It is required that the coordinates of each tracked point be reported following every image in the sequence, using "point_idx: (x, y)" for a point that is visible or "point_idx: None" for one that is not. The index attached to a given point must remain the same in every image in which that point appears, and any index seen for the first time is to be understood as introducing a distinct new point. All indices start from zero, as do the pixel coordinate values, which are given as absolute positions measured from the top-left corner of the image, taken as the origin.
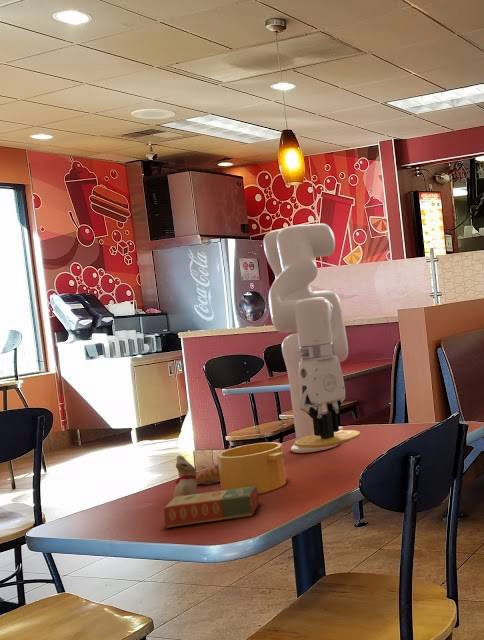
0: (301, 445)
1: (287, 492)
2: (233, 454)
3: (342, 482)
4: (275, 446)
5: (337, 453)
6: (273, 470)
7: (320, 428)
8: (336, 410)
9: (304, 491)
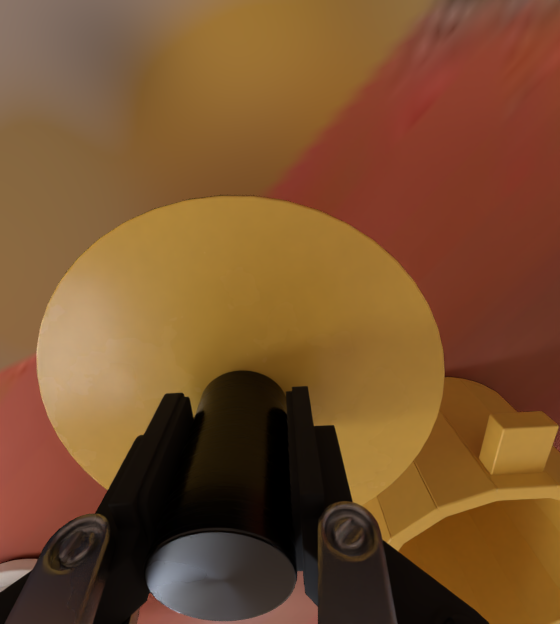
0: (438, 407)
1: (466, 305)
2: None
3: (325, 183)
4: None
5: (54, 504)
6: (468, 418)
7: (322, 439)
8: (80, 552)
9: (452, 248)
